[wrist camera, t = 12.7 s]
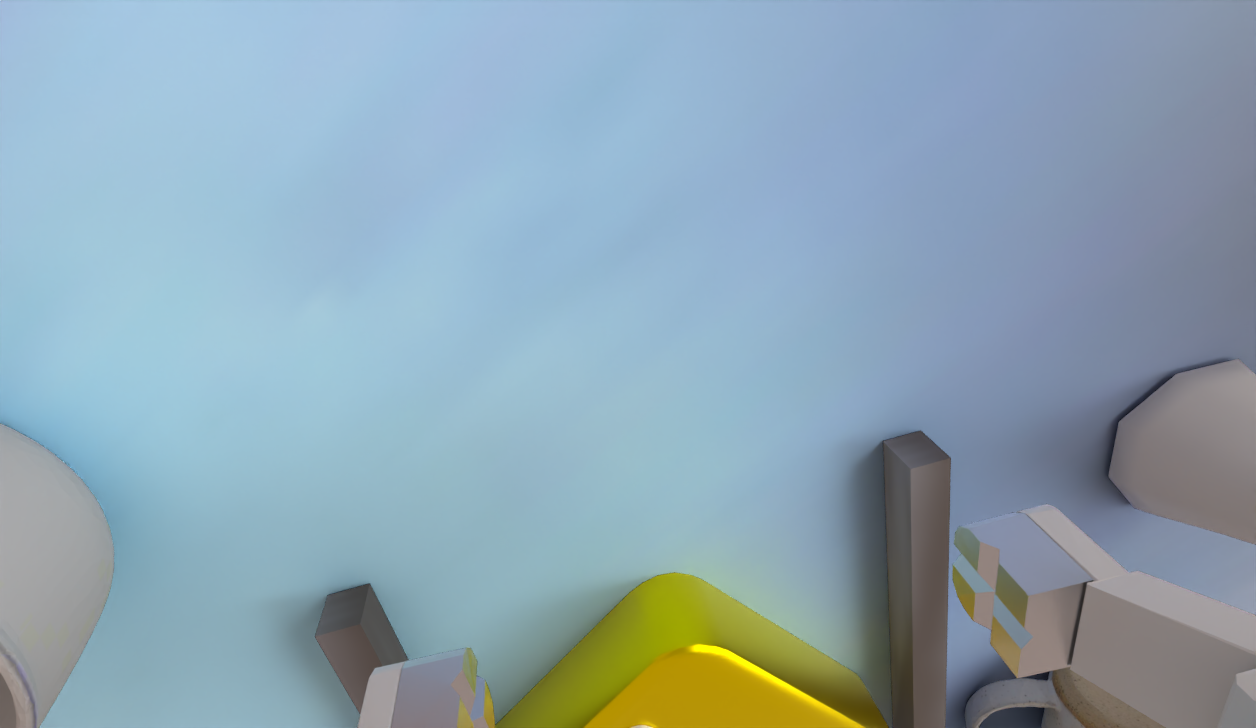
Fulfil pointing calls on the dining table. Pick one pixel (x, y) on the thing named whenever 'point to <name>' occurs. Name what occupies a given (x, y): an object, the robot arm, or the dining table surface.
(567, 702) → the element tile
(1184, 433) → the flask
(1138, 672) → the robot arm
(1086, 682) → the ceramic mug
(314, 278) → the dining table surface
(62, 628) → the teacup
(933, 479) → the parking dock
